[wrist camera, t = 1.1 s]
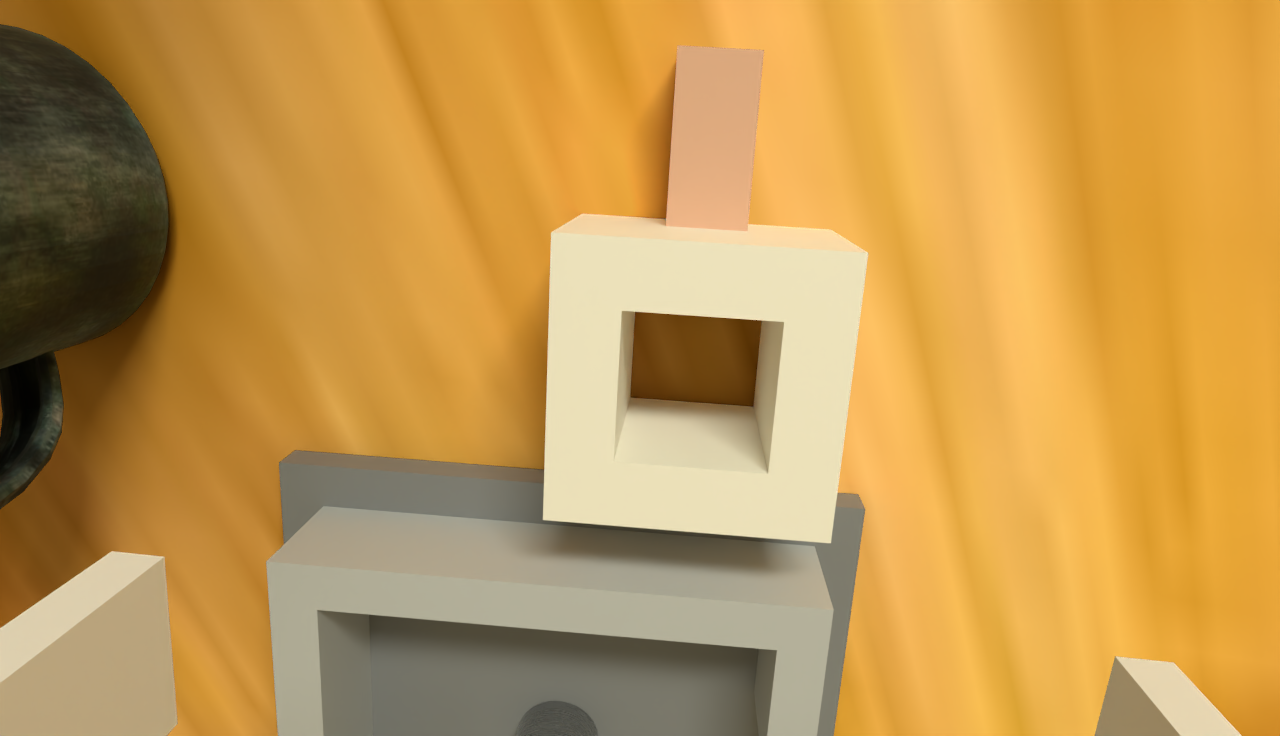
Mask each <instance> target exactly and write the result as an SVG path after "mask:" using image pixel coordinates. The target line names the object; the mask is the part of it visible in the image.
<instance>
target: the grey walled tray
mask: <svg viewBox="0 0 1280 736" xmlns="http://www.w3.org/2000/svg"><path fill="white" fill-rule="evenodd" d="M279 470H280V486H281V503H282V519H283V536H284V545H283V546H282V547H281V548H280V549H279V550H278V551H277V552H276V553H275V554H274V555H273V556H272V557H271V558H269V559H268V560H267V561H266V565H267V580H268V594H269V609H270V624H271V639H272V654H273V669H274V684H275V698H276V713H277V728H278V736H516V733H517V729H518V726H519V723H520V721H521V718H522V717H523V715H524V714H525V713H526V712H527V711H528V710H529V709H530V708H532V707H533V706H535V705H537V704H539V703H542V702H547V701H563V702H568V703H571V704H573V705H576V706H578V707H579V708H581V709H582V710H584V711H585V712H586V713H587V714H588V715H589V716H590V717H591V718H592V720H593V721H594V723H595V725H596V728H597V732H598V736H834V729H835V721H836V714H837V707H838V700H839V693H840V686H841V678H842V671H843V664H844V657H845V650H846V643H847V635H848V628H849V621H850V614H851V607H852V600H853V592H854V585H855V578H856V571H857V564H858V557H859V549H860V542H861V535H862V528H863V521H864V514H865V508H864V506H863V503H862V501H861V499H860V497H859V495H858V494H846V493H837V499H836V507H835V515H834V522H833V530H832V538H831V543H819V542H807V541H795V540H782V539H770V538H758V537H746V536H733V535H721V534H709V533H697V532H684V531H672V530H660V529H648V528H635V527H623V526H611V525H598V524H586V523H574V522H562V521H549V520H543V498H544V470H540V469H528V468H515V467H502V466H489V465H477V464H464V463H451V462H439V461H426V460H413V459H400V458H388V457H375V456H362V455H350V454H337V453H324V452H311V451H299V450H295V451H294V452H292V453H291V454H290V455H288V456H287V457H286V458H284V459H283V460H282V461H280V462H279Z"/></svg>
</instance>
